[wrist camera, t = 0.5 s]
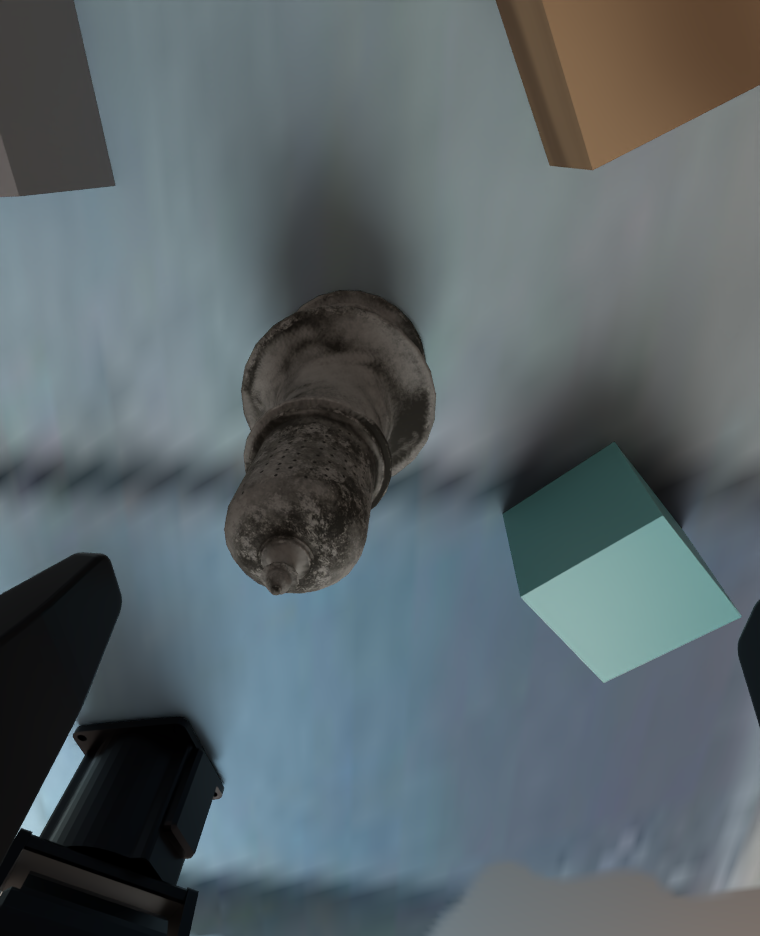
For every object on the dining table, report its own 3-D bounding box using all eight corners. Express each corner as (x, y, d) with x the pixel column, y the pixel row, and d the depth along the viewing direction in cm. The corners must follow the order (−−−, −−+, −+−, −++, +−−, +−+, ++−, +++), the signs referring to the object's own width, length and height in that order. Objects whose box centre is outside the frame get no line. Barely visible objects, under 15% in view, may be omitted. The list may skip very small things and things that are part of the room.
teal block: (571, 588, 25) (603, 682, 20) (502, 512, 23) (520, 597, 19) (681, 527, 23) (741, 616, 18) (613, 440, 21) (662, 515, 17)
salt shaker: (239, 319, 20) (33, 506, 9) (398, 252, 18) (364, 385, 8) (311, 460, 22) (213, 733, 12) (456, 410, 21) (490, 670, 10)
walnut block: (549, 165, 17) (592, 170, 13) (485, -27, 15) (512, -100, 11) (726, 72, 16) (842, 42, 11) (683, -152, 14) (804, -294, 9)
